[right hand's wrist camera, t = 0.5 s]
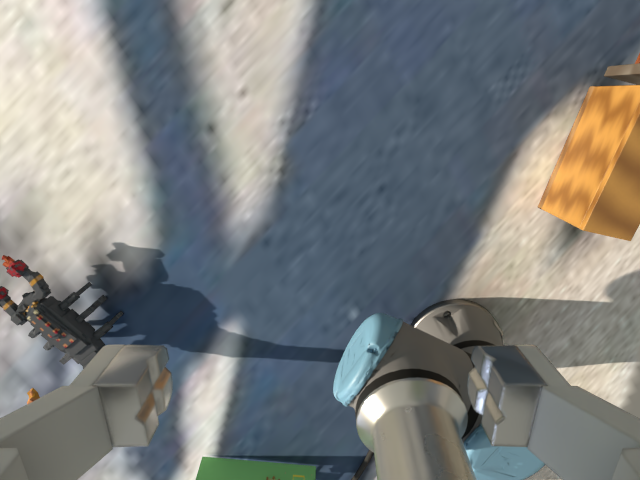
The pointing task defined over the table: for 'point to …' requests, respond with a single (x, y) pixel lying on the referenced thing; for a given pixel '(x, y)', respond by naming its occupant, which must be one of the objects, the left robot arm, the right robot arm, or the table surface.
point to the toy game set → (252, 470)
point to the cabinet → (600, 165)
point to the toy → (54, 318)
